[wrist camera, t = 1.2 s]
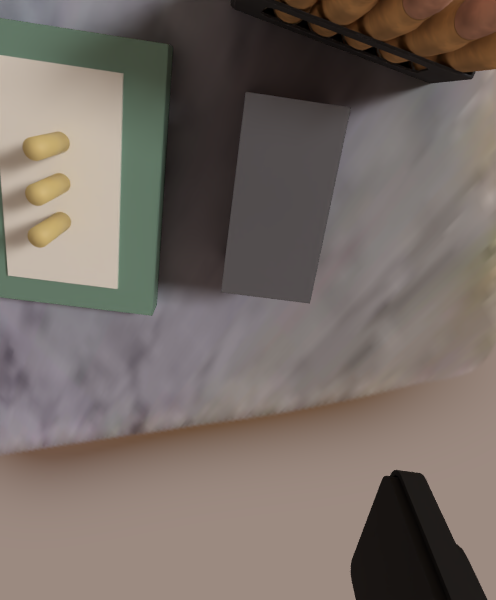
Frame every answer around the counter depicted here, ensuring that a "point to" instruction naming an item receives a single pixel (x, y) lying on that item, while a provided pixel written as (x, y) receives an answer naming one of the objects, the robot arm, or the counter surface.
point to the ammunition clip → (395, 31)
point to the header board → (82, 166)
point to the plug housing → (282, 195)
